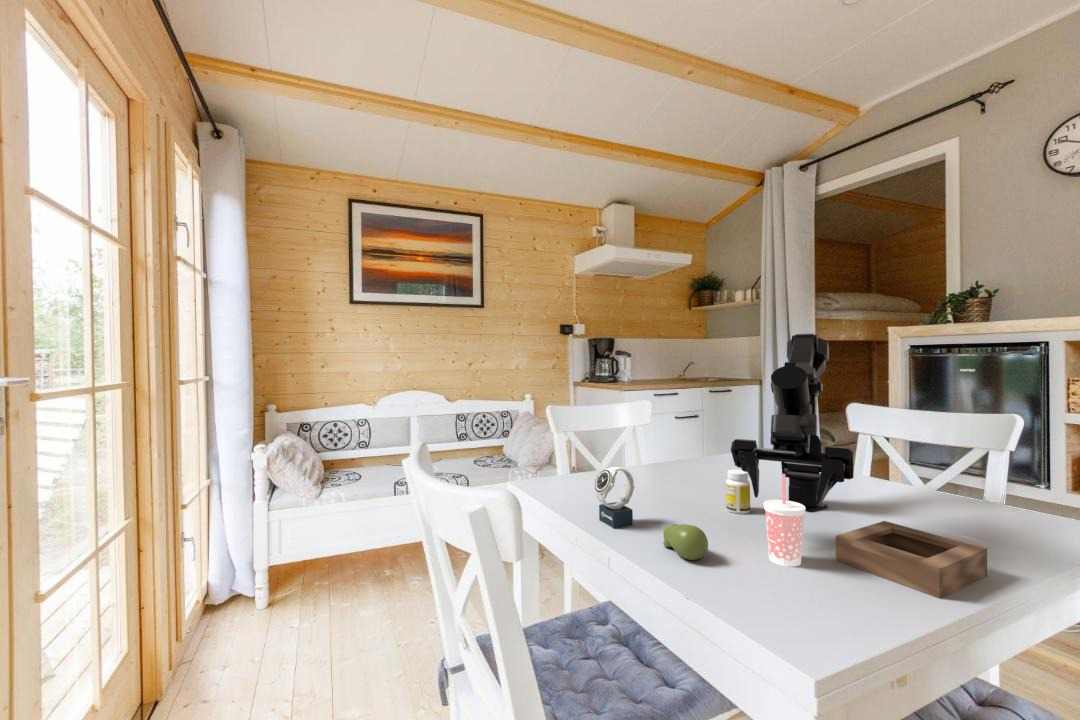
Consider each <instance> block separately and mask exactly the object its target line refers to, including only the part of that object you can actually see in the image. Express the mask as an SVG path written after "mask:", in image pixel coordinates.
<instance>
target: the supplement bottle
mask: <svg viewBox="0 0 1080 720" xmlns="http://www.w3.org/2000/svg"><path fill="white" fill-rule="evenodd" d="M748 479H749V474H748V472H744V471H742V469H728V470H727V479H726V480H725V498H726V499H725V500H726V502H725V503H726V508H725V509H726V511H728V512H729V513H732V514H737V515H738V514H739V515H745V514H749V513H750V512H751V483H750V481H749V480H748Z"/></svg>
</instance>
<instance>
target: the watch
mask: <svg viewBox="0 0 1080 720" xmlns="http://www.w3.org/2000/svg"><path fill="white" fill-rule="evenodd" d="M618 471H619V472H620V471H622V472H623V473H624V474H625V477H626V483H625V484H624V488H623V491H622V492H621V495H620V497H619V500H618V501H616V502H609V503H608V502H607V501H606V498H607V496H608V494H609V493H610V492H611V491H612V489H613V488H614V487H615V483H616V476H617V474H618ZM634 481H635V480H634V478H633V475H632V474H631V472H630V471H628V470H627V469H624V468H622V467H620V466H610V467H607V468H605V469H603V470H602V471H600V472H599V473H598V474H597V476H596V479H595V480H594V490H595V494H596V496H597V497H596V498H597V499H598V501H599V502H600V504H599V505H598V508H599V509H598V511H599V513H598V516H599V518H598V519H599V521H600V522H602V523H604V524H605V525H608V526H609V527H611V528H612V529H614V530H615V529H619V528H625V527H629V526H634V523H633V522H634V519H633V518H634V517H633V516H634V515H633V514H634V512H633V508H630V507H628V506H626V504H629V502H630V501H631V498H632V496H633V494H634V489H635V482H634Z"/></svg>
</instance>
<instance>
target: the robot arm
mask: <svg viewBox="0 0 1080 720" xmlns="http://www.w3.org/2000/svg"><path fill="white" fill-rule="evenodd" d="M829 347H830V346H829V341H828V340H826V339H823V338H821V337H818V334H814V333H795V334H794V335H792V336H791V339H790V340H787V342H786V358H787V362H786V361H785V362H784V365H783V366H781V367H778V368H777V369H775V370H774V371H773V372H772V374H771V375H770V388H771V392H772V394H773V399H774V403H775V404H776V406H777V410H776V414H772V415H771V420H770V440H769V441H770V445H771V446H772V448H767V447H766V448H764V447H758V444H757V441H756V439H745V438H744V439H743V438H742V439H741V438H735V439H734V440H733V441H732V442H731V446H730V452H731V456H732V459H733V463H734V465H735V467H736V468H740V470H742V471H744V472H748V477H749V479H750V481H751V487H752V491H753V495H754V498H758V497H759V492H760V469H759V465H760V460H762V461H772V462H780V463H781V465H780V466H781V475H782V474H785V478H788V499H787V501H793V502H797V503H800V504H802V505H804V506H805V507H806V510H805V512H806V511H807V512H815V511H817V510H822V509H825V508H828V507H829V504H828V503H827V504H826V503H823V501H824V500H825V499H826V496H827V495H828V493H829V492H830V491H831V490H832V488H834V486H835V485H836V484H837V483H844V482H845V480H852V479H854V471H855V470H854V451H853V450H852V449H851V448H850V447H847V446H837V445H836V446H835V445H825V447H823V444H822V441H821V439H820V437H819V436H818V435H817V434H818V415H817V406H818V405H817V401H818V397H820V395H821V392H822V391H823V390H824V387H823V386H824V385H823V383H822V382H821V380H820V377H821V376H822V374H823V373H824V372H825V371H826V362H828V361H829V360H830V348H829Z"/></svg>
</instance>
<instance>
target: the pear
mask: <svg viewBox="0 0 1080 720" xmlns="http://www.w3.org/2000/svg"><path fill="white" fill-rule="evenodd" d="M663 546H664V547H666V548H672V549H674V551H675V552H676V553H677V554H678V555H679V556H680V557H681V558H683V559H685V560H688V561H697V560H700V559H702V558H704V557H705V555H706V554H707V552H708V549H709V541H708V538H707V535H706V533H705V532H704V531H703V530H702V529H701V528H699V527H698V526H696V525H693V524H692V525H691V524H685V523H684V524H676V523H674V524H673V523H671V524H670V525H668V526H666V527H665V529H664V530H663Z"/></svg>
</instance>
